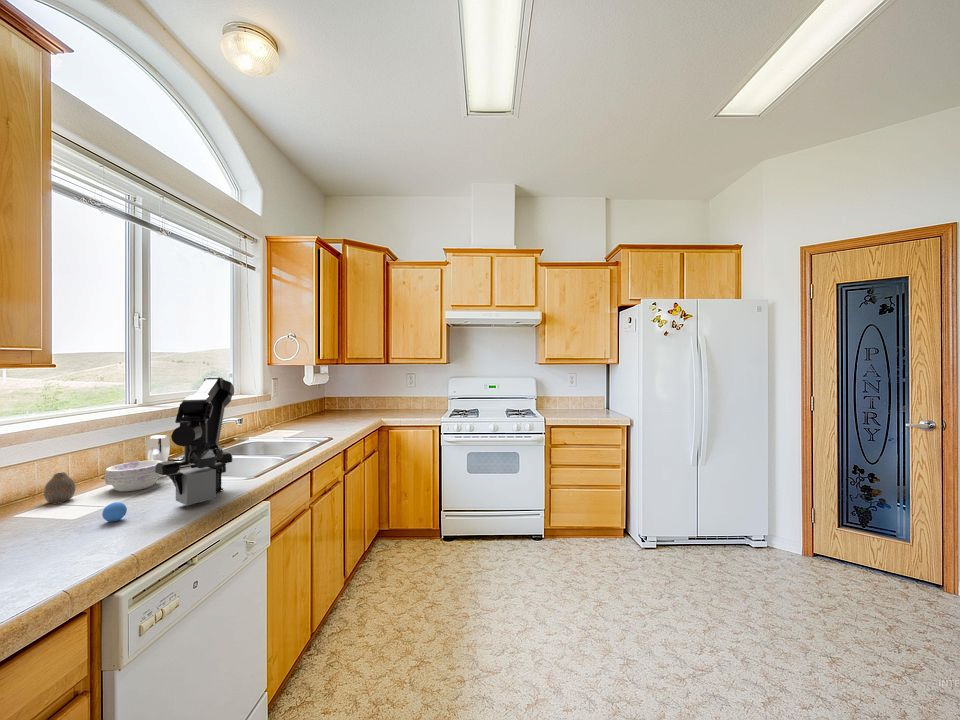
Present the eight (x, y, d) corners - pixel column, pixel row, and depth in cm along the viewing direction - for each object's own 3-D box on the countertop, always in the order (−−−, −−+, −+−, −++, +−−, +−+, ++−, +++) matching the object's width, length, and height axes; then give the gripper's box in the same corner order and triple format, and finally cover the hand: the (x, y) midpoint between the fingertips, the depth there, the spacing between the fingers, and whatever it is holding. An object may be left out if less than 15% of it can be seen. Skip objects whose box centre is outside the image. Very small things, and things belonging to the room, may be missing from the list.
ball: (123, 516, 115) (123, 498, 115) (129, 520, 113) (129, 501, 113) (99, 522, 111) (99, 503, 111) (105, 526, 108) (105, 507, 108)
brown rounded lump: (80, 499, 129) (80, 471, 129) (52, 506, 123) (52, 477, 123) (67, 496, 131) (67, 469, 131) (38, 503, 125) (38, 475, 125)
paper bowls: (133, 480, 149) (133, 459, 149) (173, 481, 148) (173, 459, 148) (92, 494, 134) (92, 470, 134) (136, 495, 133) (136, 471, 133)
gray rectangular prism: (203, 493, 130) (204, 465, 130) (215, 498, 126) (215, 469, 126) (175, 500, 123) (175, 471, 123) (187, 505, 119) (187, 475, 119)
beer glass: (150, 479, 150) (151, 438, 150) (143, 476, 154) (143, 437, 154) (173, 475, 156) (173, 435, 156) (165, 472, 160) (165, 434, 160)
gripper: (170, 448, 112) (170, 505, 112) (241, 437, 128) (241, 487, 128) (154, 443, 118) (154, 497, 118) (223, 434, 134) (223, 481, 134)
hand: (195, 490), depth 125 cm, fingers closed on gray rectangular prism, 8 cm apart
